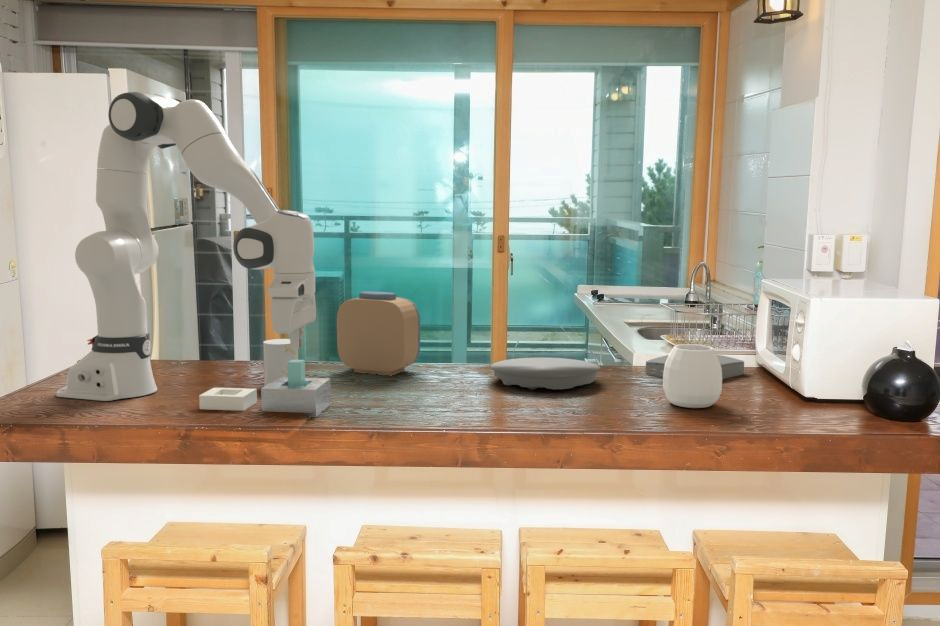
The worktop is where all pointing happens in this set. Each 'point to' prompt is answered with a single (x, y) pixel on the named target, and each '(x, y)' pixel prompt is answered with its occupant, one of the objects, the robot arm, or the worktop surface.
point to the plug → (296, 373)
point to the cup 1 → (277, 358)
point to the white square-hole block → (228, 399)
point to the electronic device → (728, 364)
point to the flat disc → (545, 372)
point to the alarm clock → (378, 333)
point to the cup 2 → (692, 376)
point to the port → (297, 396)
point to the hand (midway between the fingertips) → (296, 347)
